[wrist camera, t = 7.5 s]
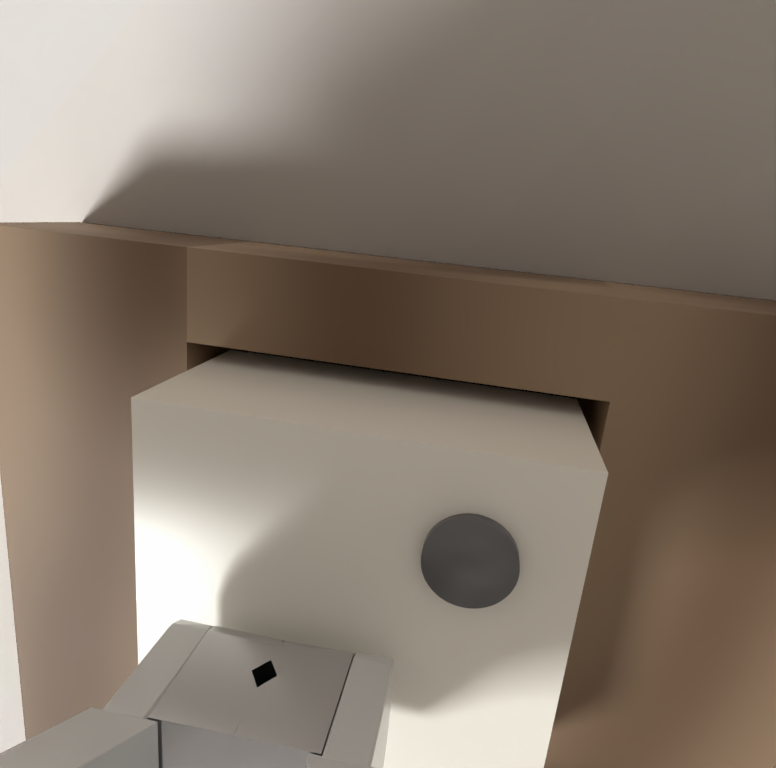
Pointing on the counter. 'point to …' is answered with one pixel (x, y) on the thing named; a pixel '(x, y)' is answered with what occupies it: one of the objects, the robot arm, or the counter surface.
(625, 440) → the tile board
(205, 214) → the counter surface
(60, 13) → the counter surface
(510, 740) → the tile two cream
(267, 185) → the counter surface
